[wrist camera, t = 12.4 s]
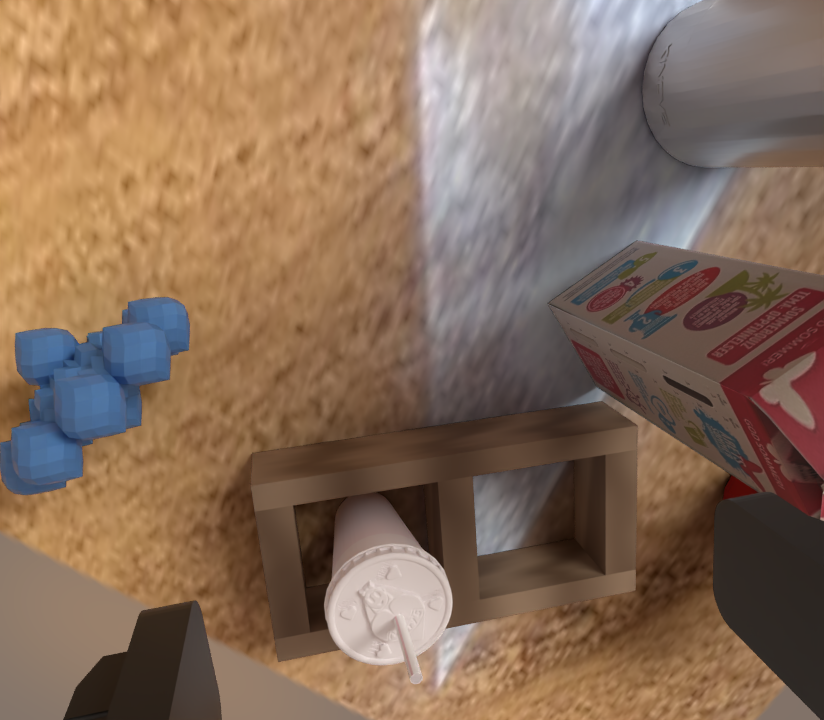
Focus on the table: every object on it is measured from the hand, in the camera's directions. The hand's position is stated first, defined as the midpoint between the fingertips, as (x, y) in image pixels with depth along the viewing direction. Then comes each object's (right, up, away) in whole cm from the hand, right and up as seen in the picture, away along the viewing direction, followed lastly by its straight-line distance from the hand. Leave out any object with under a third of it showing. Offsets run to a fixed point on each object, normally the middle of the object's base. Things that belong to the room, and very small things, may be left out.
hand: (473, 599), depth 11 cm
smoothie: (-4, -6, +33) cm, 34 cm away
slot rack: (+1, -6, +34) cm, 34 cm away
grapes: (-17, +4, +27) cm, 33 cm away
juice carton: (+12, +6, +33) cm, 35 cm away
